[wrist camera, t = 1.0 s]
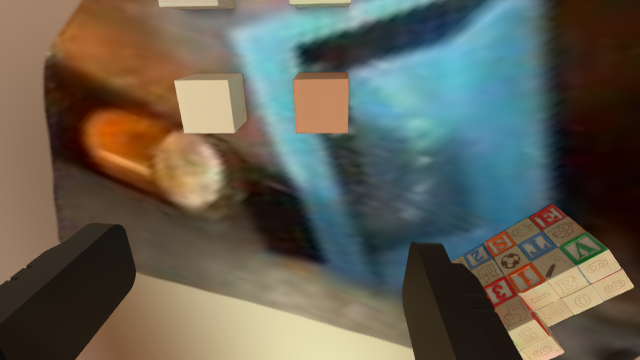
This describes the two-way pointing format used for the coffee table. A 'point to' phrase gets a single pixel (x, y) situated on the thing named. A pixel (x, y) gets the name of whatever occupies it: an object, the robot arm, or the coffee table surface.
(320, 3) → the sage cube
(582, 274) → the stack of blocks
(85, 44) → the coffee table surface
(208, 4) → the beige cube
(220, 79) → the cream cube
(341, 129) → the terracotta cube
